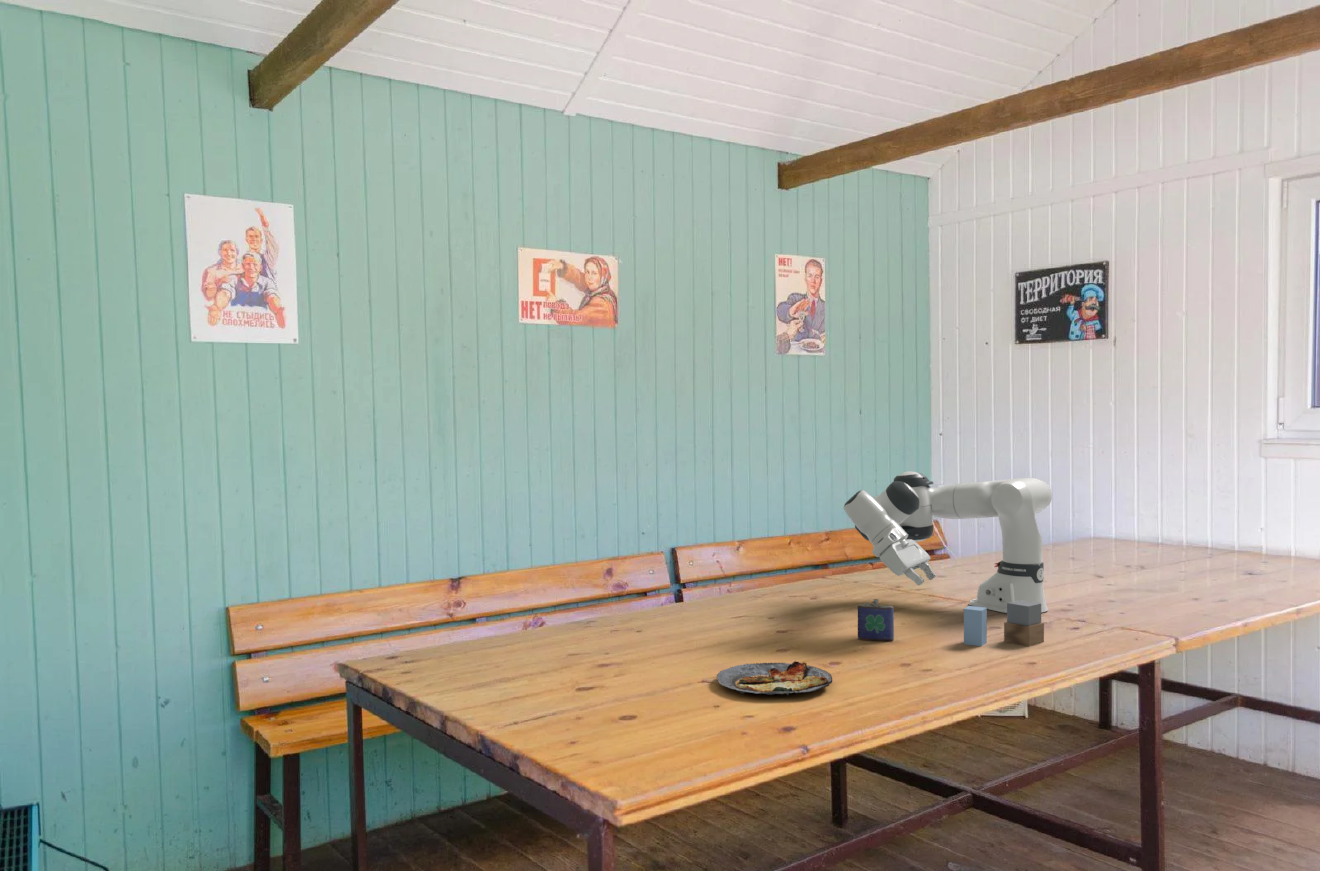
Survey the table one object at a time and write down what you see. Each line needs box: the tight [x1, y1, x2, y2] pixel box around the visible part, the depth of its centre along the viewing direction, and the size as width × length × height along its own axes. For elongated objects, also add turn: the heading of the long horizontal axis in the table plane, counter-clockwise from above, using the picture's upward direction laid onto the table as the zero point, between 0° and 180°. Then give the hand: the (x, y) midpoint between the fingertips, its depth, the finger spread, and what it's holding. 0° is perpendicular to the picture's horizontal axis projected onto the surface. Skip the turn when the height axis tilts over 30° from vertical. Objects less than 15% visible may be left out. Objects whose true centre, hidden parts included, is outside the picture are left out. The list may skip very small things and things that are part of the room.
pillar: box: [963, 605, 988, 647], centre depth 247 cm, size 4×4×9 cm
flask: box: [857, 598, 895, 643], centre depth 252 cm, size 9×3×11 cm, turn 74°
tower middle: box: [1006, 600, 1042, 626], centre depth 249 cm, size 6×6×5 cm
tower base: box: [1003, 621, 1045, 647], centre depth 249 cm, size 7×7×5 cm
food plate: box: [716, 660, 833, 696], centre depth 211 cm, size 25×23×4 cm
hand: (927, 580), depth 254 cm, fingers open, 8 cm apart
